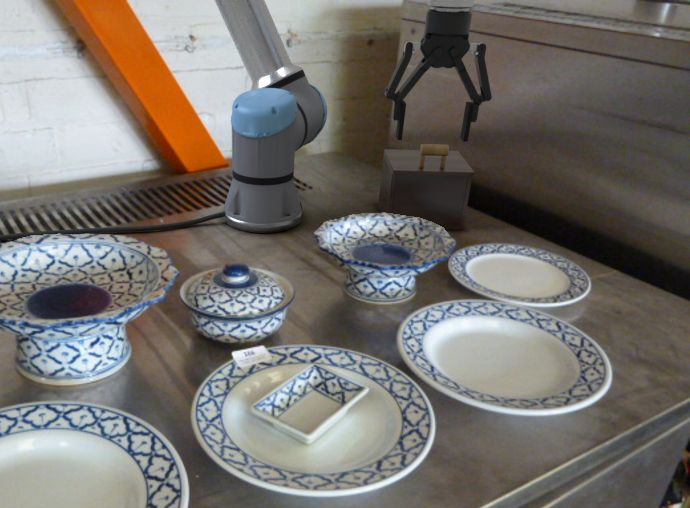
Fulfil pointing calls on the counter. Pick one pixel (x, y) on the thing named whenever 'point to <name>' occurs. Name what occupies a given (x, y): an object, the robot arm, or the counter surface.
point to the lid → (428, 161)
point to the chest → (425, 197)
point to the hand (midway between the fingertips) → (431, 139)
